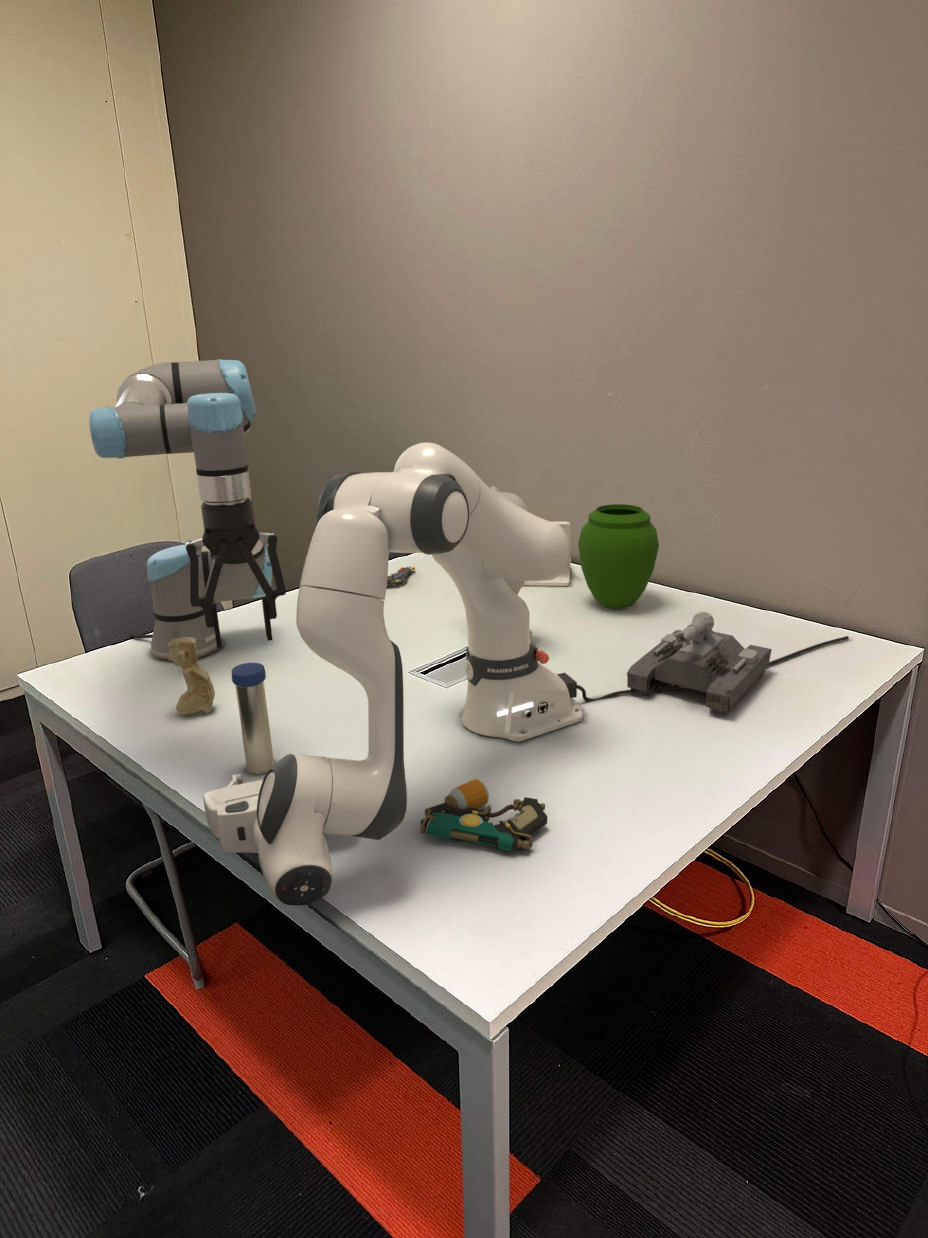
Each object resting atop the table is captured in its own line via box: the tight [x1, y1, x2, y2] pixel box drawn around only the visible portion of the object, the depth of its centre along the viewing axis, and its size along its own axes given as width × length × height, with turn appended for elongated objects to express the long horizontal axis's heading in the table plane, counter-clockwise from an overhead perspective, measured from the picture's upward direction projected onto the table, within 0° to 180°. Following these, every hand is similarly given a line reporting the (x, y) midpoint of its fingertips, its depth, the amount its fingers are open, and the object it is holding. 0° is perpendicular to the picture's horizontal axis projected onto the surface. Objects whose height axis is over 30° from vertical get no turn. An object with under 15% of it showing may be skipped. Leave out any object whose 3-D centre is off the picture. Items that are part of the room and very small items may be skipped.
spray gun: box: [420, 778, 548, 852], centre depth 125 cm, size 4×17×15 cm
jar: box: [235, 680, 275, 775], centre depth 141 cm, size 4×4×18 cm
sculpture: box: [168, 637, 216, 716], centre depth 162 cm, size 6×7×15 cm
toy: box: [626, 611, 773, 714], centre depth 168 cm, size 25×20×15 cm
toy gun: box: [387, 565, 416, 586], centre depth 237 cm, size 3×19×10 cm
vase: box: [577, 503, 660, 610], centre depth 210 cm, size 20×20×24 cm
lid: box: [231, 662, 267, 686], centre depth 138 cm, size 5×5×2 cm
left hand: (244, 641), depth 136 cm, fingers open, 7 cm apart
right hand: (268, 771), depth 131 cm, fingers open, 8 cm apart
